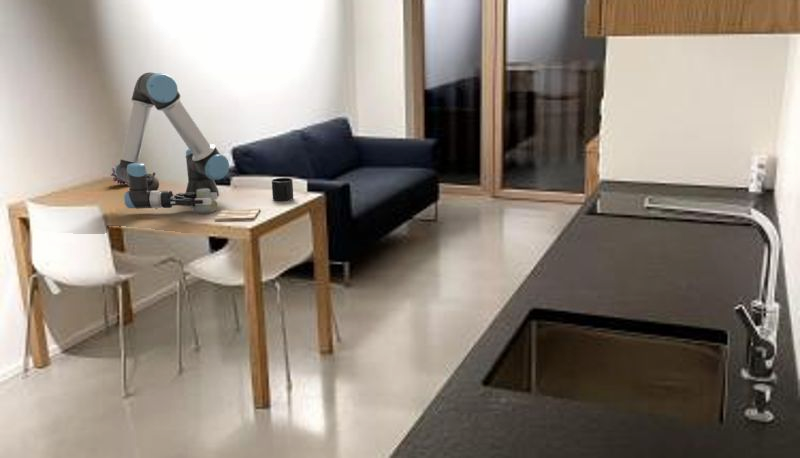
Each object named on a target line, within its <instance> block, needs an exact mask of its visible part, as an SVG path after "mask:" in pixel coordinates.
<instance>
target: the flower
mask: <svg viewBox="0 0 800 458" xmlns="http://www.w3.org/2000/svg"><path fill="white" fill-rule="evenodd" d="M118 164H120V162H118V163H116V164H115V165H114V166H115V167H111V174H110V176H111V177H114V178H112V180H113V182H117V184H119V185H120V186H121V185H123V184H127V185H129V183H128V182H125V181H122V180H120V179H119V178H118V177H117V176H116V174H115V168H116V166H117V165H118Z"/></svg>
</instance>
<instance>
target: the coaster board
mask: <svg viewBox="0 0 800 458" xmlns="http://www.w3.org/2000/svg"><path fill="white" fill-rule="evenodd" d="M260 213H261V208H223V209H222V210H221V211H220V212H219V213H218V214H217V216H215V218H214V222H243V221H244V222H245V220H254V219H255V220H256V218H257V217H258V215H259V214H260ZM255 220H254V221H255Z"/></svg>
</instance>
